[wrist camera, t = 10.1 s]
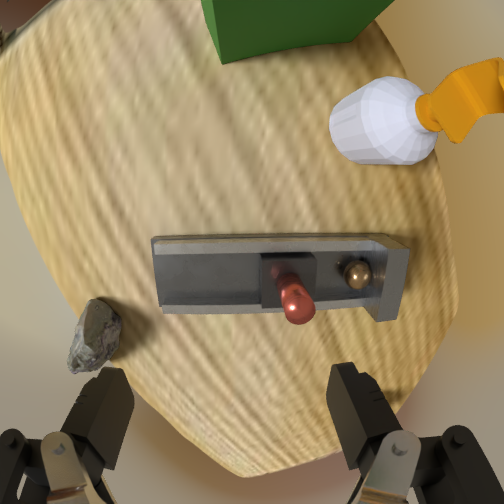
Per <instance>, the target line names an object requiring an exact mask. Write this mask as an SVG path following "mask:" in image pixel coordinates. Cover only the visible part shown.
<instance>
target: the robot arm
mask: <svg viewBox="0 0 504 504" xmlns="http://www.w3.org/2000/svg"><path fill="white" fill-rule="evenodd" d="M326 400H327V405H328V408H329V411H330V414H331V417H332V420H333V423H334V426H335V429H336V432H337V434H338V437H339V440H340V443H341V446H342V449H343V452H344V455H345V458H346V461H347V465H348V468H349V470H352V469H356V468H359V470H360V473H361V475H360V477H359V479H358V481H357V483H356V485H355V487H354V489H353V491H352V493H351V495H350V496H349V498H348V500H347V502H346V504H409V503H408V501H406V497H407V494H408V491H409V488H410V487H413V488H414V491H415V494H416V497H417V499H418V502H419V504H504V491H503V489H502V487H501V485H500V483H499V481H498V479H497V477H496V475H495V473H494V471H493V469H492V467H491V465H490V463H489V461H488V460H487V458H486V456H485V454H484V452H483V451H482V449H481V447H480V445H479V444H478V442H477V440H476V438H475V437H474V435H473V433H472V432H471V431H470V430H469V429H468V428H467V427H465V426H460V425H455V426H452V427H449V428H448V429H447V430H446V431H445V432H444V433H443V435H442V436H436V437H425V438H419V437H417V436H416V435H415V434H413V433H412V432H409V431H405V430H403V429H402V427H401V425H400V424H399V422H398V420H397V418H396V416H395V414H394V413H393V411H392V409H391V407H390V405H389V403H388V402H387V400H386V399H385V396H384V394H383V393H382V391H381V389H380V387H379V386H378V384H377V382H376V380H375V379H374V378H372V377H371V376H370V375H369V374H367V373H366V372H364V373H359V372H358V370H357V369H356V367H355V365H354V363H353V362H346V363H340V364H334V365H332V367H331V372H330V377H329V382H328V386H327V391H326ZM133 409H134V395H133V393H132V390H131V388H130V385H129V383H128V380H127V378H126V375H125V373H124V371H123V369H121V368H112V367H103V368H102V369H101V371H100V373H99V375H98V377H97V378H94V377H93V378H92V379H91V380H90V381H88V383H86V384H85V385H84V387H83V388H82V391H81V392H80V396H78V398H77V399H76V403H74V405H73V407H72V409H71V411H70V413H69V415H68V416H67V418H66V420H65V422H64V424H63V426H62V428H61V430H60V431H56V432H52V433H49V434H47V435H46V436H45V437H44V438H43V440H38V439H26V438H25V437H24V435H23V434H22V433H21V432H20V431H19V430H17V429H8V430H6V431H4V432H3V433H2V434H1V436H0V504H117V502H116V500H115V498H114V496H113V494H112V492H111V490H110V488H109V486H108V484H107V482H106V480H105V478H104V476H103V475H102V472H103V469H104V468H106V469H110V470H114V469H115V465H116V462H117V458H118V455H119V452H120V449H121V445H122V442H123V439H124V436H125V433H126V430H127V427H128V424H129V420H130V418H131V415H132V412H133ZM23 473H24V474H25V475H26V476H27V478H26V481H25V484H24V487H23V489H22V493H21V496H20V499H19V500H18V498H17V489H18V487H19V484H20V481H21V478H22V476H23Z"/></svg>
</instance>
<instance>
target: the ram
mask: <svg viewBox="0 0 504 504" xmlns="http://www.w3.org/2000/svg"><path fill="white" fill-rule="evenodd" d="M316 274H317V259H316V258H315V256H314V255H313V254H312V253H311V252H266V253H260V259H259V296H260V302H261V308H262V309H265V308H283V309H284V312H285V315H286V318H287V320H288V321H289V322H291V323H293V324H297V325H300V324H304V323H307V322H308V321H310V320H311V319H312V318H313V316H314V314H315V311H316V307H315V304H314V297H315V286H316Z"/></svg>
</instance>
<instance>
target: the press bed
mask: <svg viewBox="0 0 504 504" xmlns="http://www.w3.org/2000/svg"><path fill="white" fill-rule="evenodd" d="M151 247H152V256H153V264H154V272H155V280H156V287H157V294H158V301H159V307H162V310H163V314H249V313H277V312H284V309H283V308H265V309H262V308H261V302H260V296H259V259H260V253H266V252H311V253H312V254H313V255H314V256H315V258H316V259H317V274H316V286H315V297H314V304H315V307H316V310H328V309H340V308H352V307H364V308H365V309H366V311H367V312H368V313H369V314H370V315H371V317H372V318H373V319H374V320H375V321H376V322H382V321H389V320H396V319H397V315H398V311H399V307H400V302H401V298H402V293H403V288H404V283H405V278H406V272H407V266H408V260H409V254H410V248H408V247H406V246H404V245H402V244H400V243H398V242H396V241H394V240H392V239H391V238H389V236H388V235H386V234H384V233H290V234H227V235H186V236H155V237H153V238H152V239H151Z"/></svg>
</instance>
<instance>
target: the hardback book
mask: <svg viewBox="0 0 504 504" xmlns="http://www.w3.org/2000/svg"><path fill="white" fill-rule="evenodd" d="M393 1H394V0H201V3H202V8H203V12H204V17H205V21H206V24H207V27H208V29H209V32H210V34H211V37H212V40H213V42H214V45H215V47H216V50H217V53H218V55H219V58H220V61H221V63H222V64H226V63H229V62H233V61H237V60H240V59H244V58H248V57H252V56H257V55H261V54H266V53H270V52H275V51H281V50H286V49H292V48H298V47H305V46H312V45H321V44H330V43H342V42H351V41H352V40H353V39H354V38H355V37H356V36H357V35H358V34H359V33H360V32H361V31H362V30H363V29H364V28H366V27H367V26H368V25H369V24H370V23H371V22H372V21H373V20H374V19H375V18H376V17H377V16H378V15H379V14H380V13H381V12H382V11H383V10H385V9H386V8H387V7H388V6H389V5H390V4H391V3H392V2H393Z"/></svg>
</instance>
